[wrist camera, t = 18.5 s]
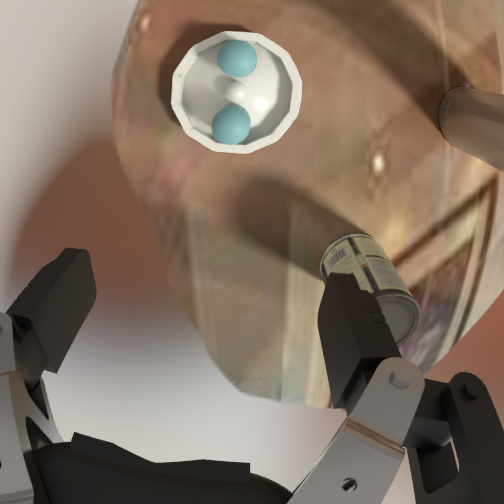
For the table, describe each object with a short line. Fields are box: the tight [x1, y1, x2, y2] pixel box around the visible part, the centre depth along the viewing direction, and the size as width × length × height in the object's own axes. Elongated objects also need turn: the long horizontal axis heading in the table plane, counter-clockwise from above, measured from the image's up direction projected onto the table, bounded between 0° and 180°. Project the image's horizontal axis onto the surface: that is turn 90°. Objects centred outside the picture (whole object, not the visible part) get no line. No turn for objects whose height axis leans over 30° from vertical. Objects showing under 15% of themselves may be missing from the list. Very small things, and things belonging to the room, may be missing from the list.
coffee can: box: [320, 234, 421, 347], centre depth 39 cm, size 10×10×14 cm
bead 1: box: [217, 40, 257, 77], centre depth 29 cm, size 4×4×4 cm
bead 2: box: [211, 105, 251, 145], centre depth 32 cm, size 4×4×4 cm
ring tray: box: [171, 31, 302, 154], centre depth 32 cm, size 15×15×2 cm
